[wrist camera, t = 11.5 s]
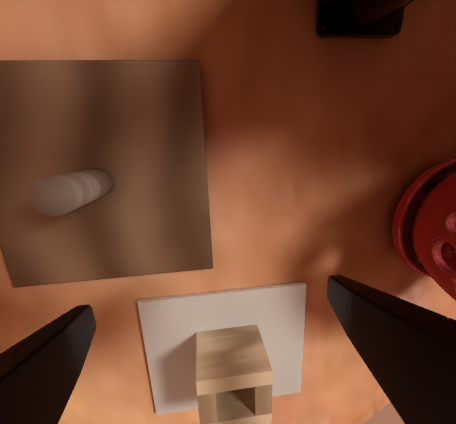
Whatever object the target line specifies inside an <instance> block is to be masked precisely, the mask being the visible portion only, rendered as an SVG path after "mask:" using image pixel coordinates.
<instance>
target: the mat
mask: <svg viewBox="0 0 456 424" xmlns="http://www.w3.org/2000/svg"><path fill="white" fill-rule="evenodd" d="M306 287H307V284H306V283H305V282H298V283H289V284H280V285H270V286H261V287H251V288H242V289H233V290H223V291H214V292H205V293H195V294H186V295H177V296H167V297H158V298H149V299H139V300H138V302H137V304H138V310H139V315H140V321H141V327H142V333H143V339H144V345H145V351H146V357H147V362H148V368H149V374H150V380H151V386H152V392H153V398H154V404H155V409H156V415H162V414H168V413H175V412H181V411H187V410H194V409H199V408H198V398H197V388H196V347H197V332H200V331H208V330H216V329H224V328H232V327H240V326H248V325H256V324H257V325H258V328H259V331H260V334H261V337H262V341H263V344H264V347H265V350H266V353H267V356H268V359H269V362H270V365H271V368H272V397H275V396H282V395H288V394H294V393H301V377H302V359H303V341H304V323H305V305H306Z"/></svg>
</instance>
